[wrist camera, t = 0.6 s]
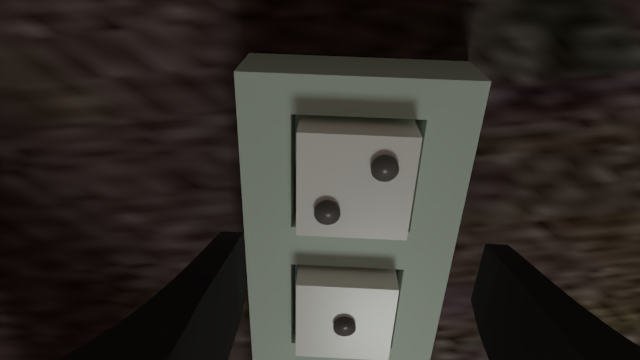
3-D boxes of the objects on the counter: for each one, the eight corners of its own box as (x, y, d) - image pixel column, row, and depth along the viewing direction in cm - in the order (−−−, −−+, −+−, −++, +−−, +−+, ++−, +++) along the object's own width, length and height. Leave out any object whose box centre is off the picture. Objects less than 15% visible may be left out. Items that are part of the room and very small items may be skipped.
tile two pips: (299, 208, 19) (295, 238, 17) (300, 113, 17) (296, 134, 15) (400, 213, 19) (407, 243, 17) (413, 117, 17) (423, 139, 15)
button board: (265, 395, 28) (257, 442, 26) (249, 52, 18) (233, 71, 15) (403, 403, 28) (410, 450, 26) (468, 61, 18) (491, 81, 15)
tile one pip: (298, 323, 22) (295, 359, 20) (299, 255, 20) (295, 288, 18) (384, 327, 22) (388, 364, 20) (393, 260, 20) (399, 293, 18)
